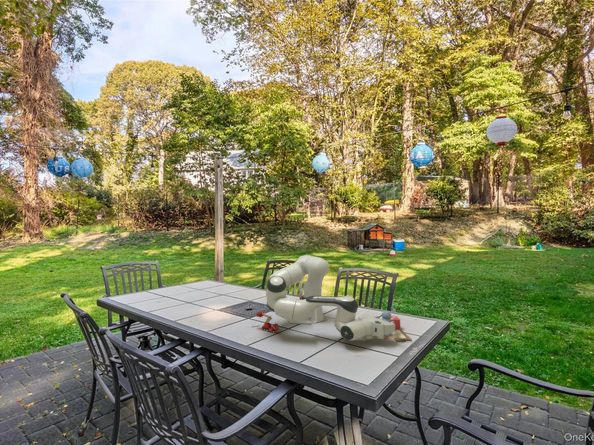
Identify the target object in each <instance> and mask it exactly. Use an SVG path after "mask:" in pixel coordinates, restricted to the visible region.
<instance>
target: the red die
mask: <svg viewBox="0 0 594 445" xmlns="http://www.w3.org/2000/svg"><path fill="white" fill-rule="evenodd" d="M391 321H394V324H395V330H400V329H401V319H400V318H399V316H396V315H395V316H394V315H391Z"/></svg>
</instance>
